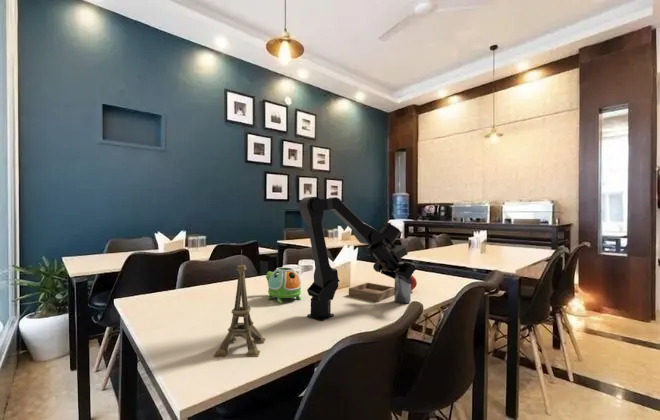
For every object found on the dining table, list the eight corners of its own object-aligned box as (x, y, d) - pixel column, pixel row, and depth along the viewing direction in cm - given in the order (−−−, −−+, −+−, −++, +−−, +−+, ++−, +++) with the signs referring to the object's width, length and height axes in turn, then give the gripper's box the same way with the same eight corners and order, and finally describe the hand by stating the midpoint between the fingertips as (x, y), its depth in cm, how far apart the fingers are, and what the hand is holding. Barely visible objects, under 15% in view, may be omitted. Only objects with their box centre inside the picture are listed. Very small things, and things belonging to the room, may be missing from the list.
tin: (406, 303, 120) (406, 265, 120) (391, 300, 123) (392, 263, 124) (413, 300, 124) (413, 263, 124) (398, 297, 128) (399, 261, 128)
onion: (401, 291, 139) (401, 273, 139) (404, 289, 144) (404, 271, 144) (414, 293, 136) (415, 274, 136) (417, 290, 141) (418, 272, 141)
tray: (378, 301, 124) (378, 294, 124) (348, 295, 132) (348, 288, 132) (395, 294, 134) (395, 287, 134) (367, 289, 143) (367, 282, 143)
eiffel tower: (265, 339, 88) (266, 247, 88) (258, 357, 77) (258, 252, 77) (226, 339, 87) (226, 246, 87) (213, 357, 77) (213, 252, 77)
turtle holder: (280, 290, 140) (280, 263, 140) (307, 299, 127) (307, 268, 127) (255, 296, 131) (255, 266, 131) (281, 305, 118) (281, 273, 118)
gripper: (412, 240, 114) (434, 269, 119) (379, 236, 130) (400, 262, 135) (395, 264, 110) (418, 293, 115) (363, 257, 126) (385, 282, 132)
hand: (405, 281), depth 125 cm, fingers closed on tin, 6 cm apart
